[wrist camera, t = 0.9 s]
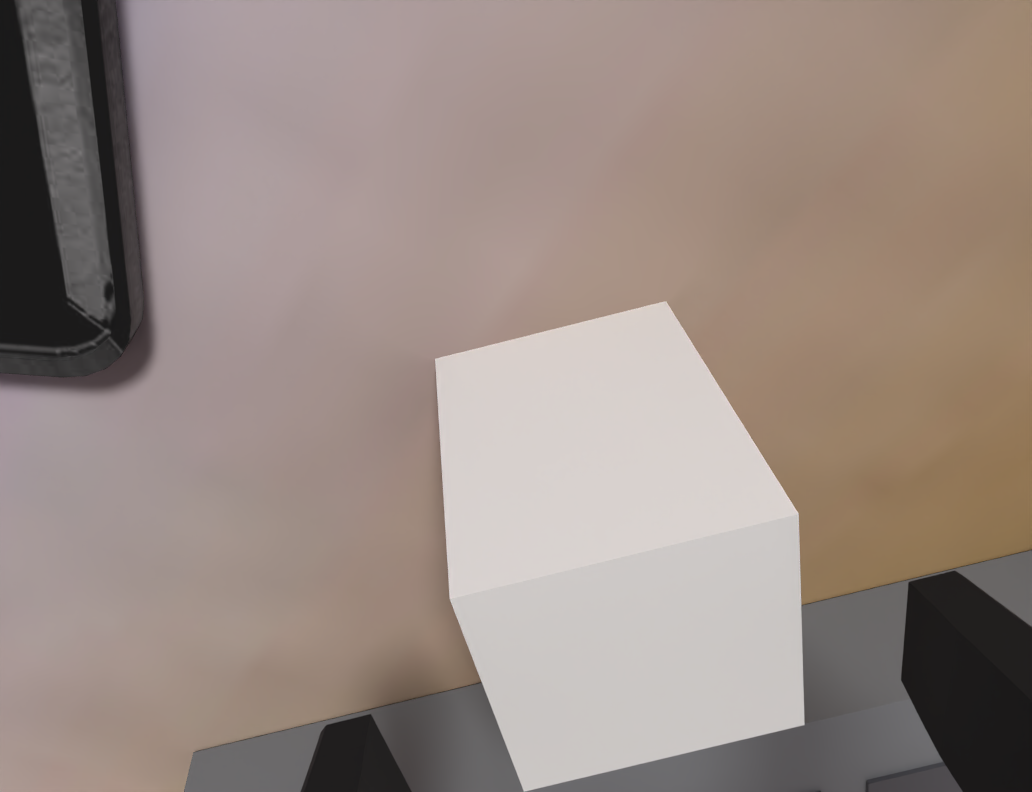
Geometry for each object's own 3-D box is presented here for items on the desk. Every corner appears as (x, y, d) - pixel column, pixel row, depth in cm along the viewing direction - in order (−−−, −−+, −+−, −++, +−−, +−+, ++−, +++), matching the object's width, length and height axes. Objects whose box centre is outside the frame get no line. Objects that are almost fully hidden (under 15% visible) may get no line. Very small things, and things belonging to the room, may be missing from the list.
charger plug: (665, 300, 15) (798, 514, 10) (688, 479, 17) (804, 725, 12) (434, 358, 15) (450, 598, 10) (489, 528, 17) (524, 791, 12)
